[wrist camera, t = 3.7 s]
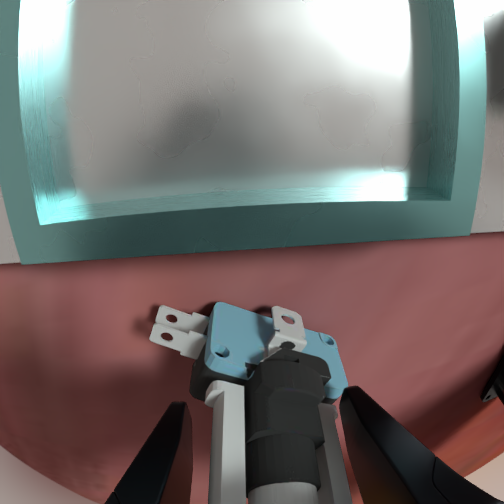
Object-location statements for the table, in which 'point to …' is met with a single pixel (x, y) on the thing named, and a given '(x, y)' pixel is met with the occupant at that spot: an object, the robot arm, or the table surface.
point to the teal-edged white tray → (246, 124)
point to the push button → (264, 404)
